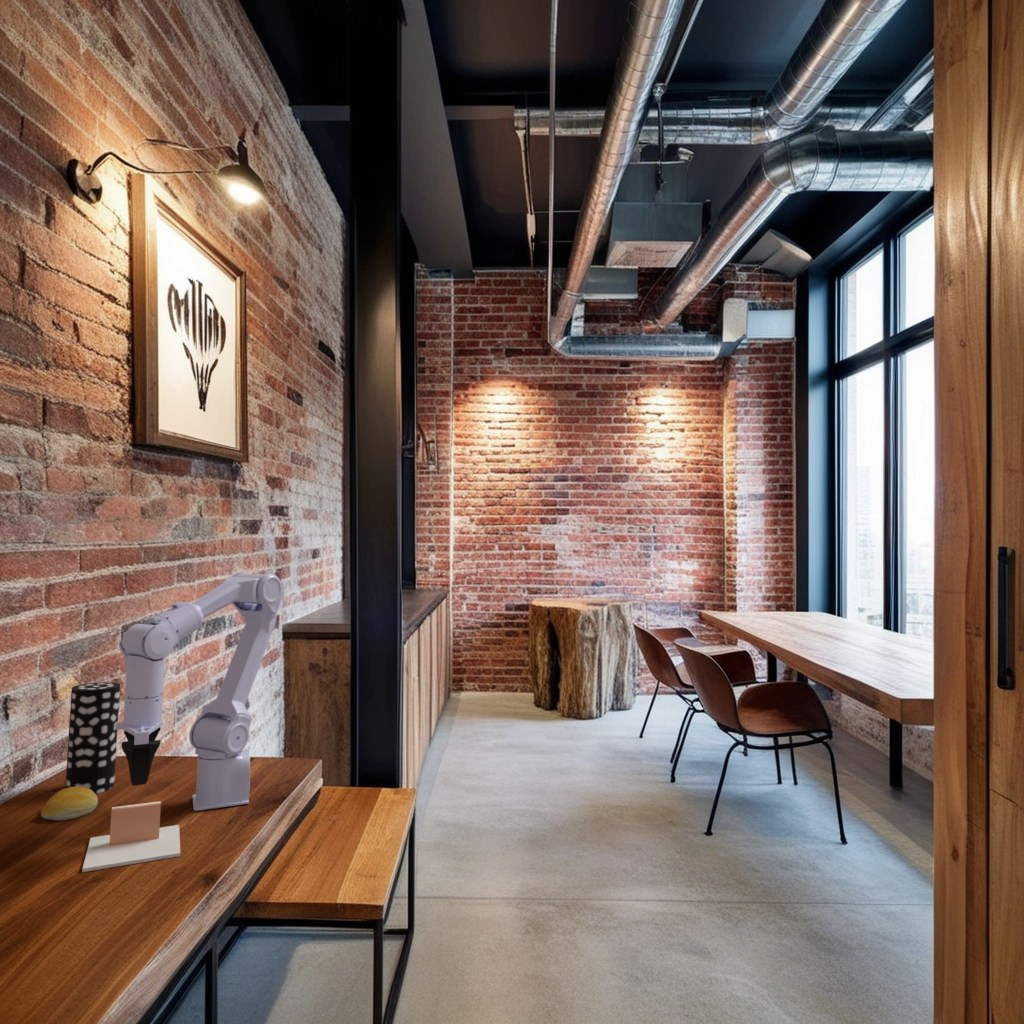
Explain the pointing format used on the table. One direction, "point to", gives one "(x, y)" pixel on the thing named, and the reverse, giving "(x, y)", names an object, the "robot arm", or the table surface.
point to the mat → (132, 850)
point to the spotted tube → (93, 736)
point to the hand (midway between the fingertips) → (139, 777)
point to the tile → (135, 823)
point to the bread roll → (70, 804)
